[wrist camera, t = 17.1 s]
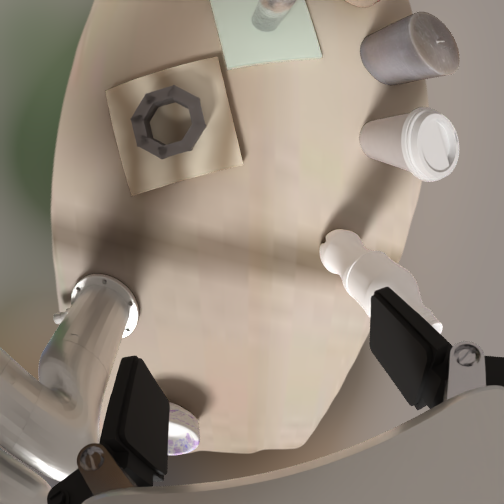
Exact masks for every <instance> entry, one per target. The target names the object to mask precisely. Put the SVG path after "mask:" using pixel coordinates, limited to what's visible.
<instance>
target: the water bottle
mask: <svg viewBox="0 0 504 504" xmlns="http://www.w3.org/2000/svg"><path fill="white" fill-rule="evenodd" d="M320 258H321V261H322V263H323V265H324V266H325V267H326V269H327V270H329V271H330V272H332V273H335V274H339V275H340V277H341V278H342V281H343V285H344V288H345V289H346V291H347V292H348V293H349V294H350V295H351V296H352V297H353V298H354V299H355V300H356V301H357V302H358V303H359V304H360V305H361V307H362V308H363V309H364V310H365V312H366V314H367V315H368V316H369V317H370V318H371V296H373V295H374V292H375V291H376V290H379V289H381V288H384V287H389V288H391V289H392V290H393V291H394V292H395V293H396V294H397V295H398V296H399V297H401V298H402V299H403V300H404V301H405V302H406V303H407V304H408V305H409V306H410V307H412V308H413V309H414V310H415V311H416V312H417V313H419V314H420V315H421V316H422V317H423V318H424V319H425V320H426V321H427V322H428V323H429V324H430V325H431V326H432V327H433V328H434V329H435V330H437V331H438V332H439V333H440V334H441V332H442V324H441V322H440V321H439V320H438V319H436V318H435V317H434V314H433V313H432V311H431V310H430V309H429V308H425V306H424V305H423V302H422V299H421V294H420V291H419V288H418V284H417V282H416V280H415V278H414V277H413V275H412V274H411V273H410V272H409V271H408V270H407V269H405V268H404V267H401V266H400V265H398V264H397V263H396V262H394V261H393V260H392V259H390V258H389V257H388V256H387V255H386V254H385V253H383V252H382V251H374V250H369V249H367V248H365V246H364V244H363V242H362V240H361V238H360V237H359V236H358V235H357V234H356V233H354V232H352V231H349V230H343V229H336V230H333V231H331V232H329V233H328V234H327V235H326V242H325V243H321V245H320Z"/></svg>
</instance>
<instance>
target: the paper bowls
mask: <svg viewBox="0 0 504 504" xmlns="http://www.w3.org/2000/svg"><path fill="white" fill-rule="evenodd" d="M169 405H170V412H169V431H168V455H181V454H185V453H189V452H191V451H193V450H194V449H196V448H197V446H198V445H199V442H200V435H199V423H198V420H197V419H196V417H195V416H194V415H193V414H192V413H190V412H189V411H187V410H185V409H183V408H182V407H181V406H179V405H177V404H174V403H171V402H169Z"/></svg>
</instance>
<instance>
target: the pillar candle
mask: <svg viewBox="0 0 504 504" xmlns="http://www.w3.org/2000/svg"><path fill="white" fill-rule="evenodd" d="M360 54H361V59H362V62H363V64H364V66H365V68H366V69H367V70H368V71H369V72H370V74H371V75H372V76H373V77H374V78H375V79H377V80H378V81H380V82H382V83H384V84H388V85H395V84H403V83H408V82H413V81H417V80H422V79H428V78H433V77H439V76H446V75H452V74H453V73H455V72H456V70H457V69H458V66H459V51H458V47H457V44H456V42H455V39H454V37H453V36H452V34H451V32H450V31H449V30H448V28H447V27H446V26H445V25H444V24H443V23H442V22H441V21H440V20H439V19H438V18H436V17H435V16H433V15H431V14H429V13H426V12H417V13H414V14H412V15H410V16H407V17H405V18H403V19H401V20H399V21H397V22H395V23H393V24H391V25H389V26H387V27H385V28H383V29H381V30H379V31H377V32H375V33H373V34H371V35H370V36H368V37H366V38H365V39H364V40H363V42H362V44H361V47H360Z"/></svg>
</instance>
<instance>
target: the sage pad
mask: <svg viewBox="0 0 504 504" xmlns="http://www.w3.org/2000/svg"><path fill="white" fill-rule="evenodd" d="M258 2H259V0H210V4H211V8H212V12H213V16H214V20H215V24H216V27H217V31H218V35H219V39H220V43H221V47H222V51H223V55H224V59H225V63H226V67H227V70H231V69H236V68H242V67H248V66H254V65H261V64H268V63H276V62H285V61H296V60H310V59H321V58H322V54H321V50H320V47H319V43H318V40H317V36H316V33H315V30H314V27H313V23H312V20H311V17H310V14H309V11H308V8H307V5H306V2H305V0H296V2H295V3H294V5H293V6H292V7H291V9H290V10H289V11H288V13H287V14H286V16H285V17H284V19H283V20H282V21H281V23H280V24H279V26H278V27H277V28H276V29H275V30H273V31H270V32H264V31H260V30H258V29H257V28H255V27H254V25H253V24H252V16H253V13H254V11H255V9H256V6H257V4H258Z"/></svg>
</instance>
